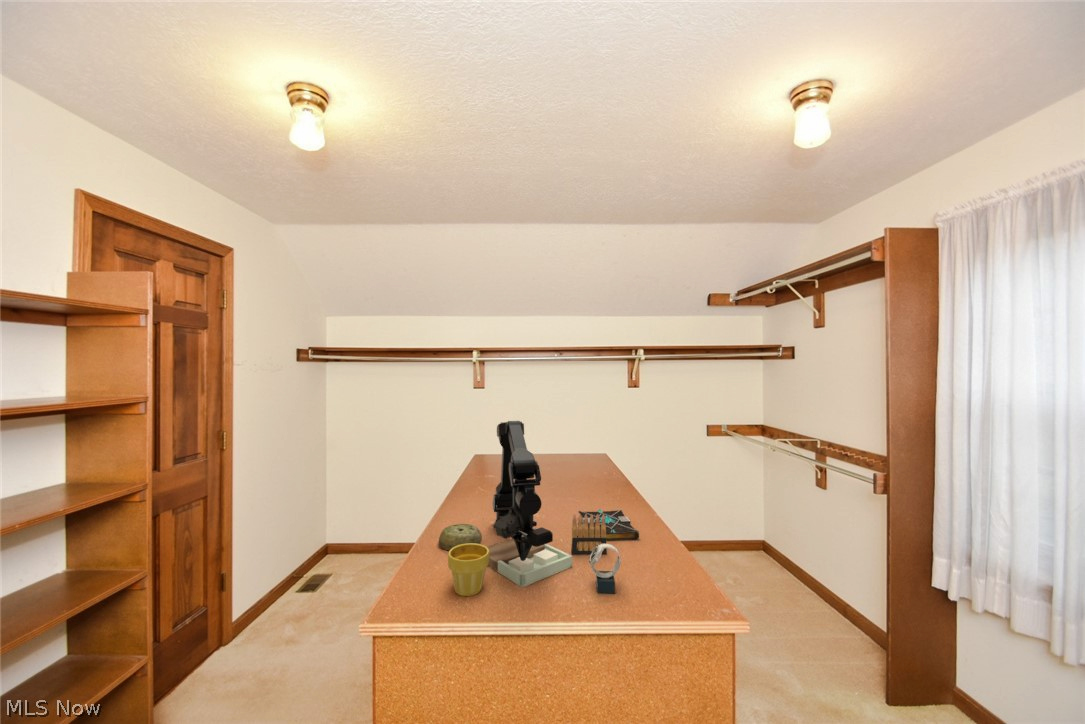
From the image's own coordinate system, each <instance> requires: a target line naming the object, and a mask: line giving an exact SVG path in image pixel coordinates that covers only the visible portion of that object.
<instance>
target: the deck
mask: <svg viewBox="0 0 1085 724" xmlns="http://www.w3.org/2000/svg"><path fill="white" fill-rule="evenodd" d="M544 545H545V544H544ZM544 545H541V546H538V547H535V546H533V545H532V547H531V549H530V551H529V553H528V556H527V558H528V559H529V558H532V557H534V554H535V553H538V552H540V551H542V550H544ZM486 547H487V548H488V549H489V564H488V566H487V567H489V568H491V569H492V570H494V571H495V572H497V573H499V572H498V561H500V560H501V561H503V562H505V563H506V564H508V565H509V561H510V560H513V559H516V558H518V557H520V556H519V553H518V550H517V547H516V544H515V541H514V539H512V538H511V539H506V540H504V541H501V542H498V543H495V544H492V545H491V544H490V545H488V546H486Z"/></svg>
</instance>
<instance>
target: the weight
mask: <svg viewBox="0 0 1085 724" xmlns="http://www.w3.org/2000/svg"><path fill="white" fill-rule="evenodd" d="M482 537H483V535H482V532H481V530H480V529H479V528H478V527H477V526H475V525H474V524H470V523H457V524H452V525H449V526H447V527H444V529H443V530H441V533H440V534H439V538H438V546H439V547H440V548H441V549H442V550H446V551H448V552H449V551H450V550H451V549H452V548H453V547H455V546H458V545H461V544H468V543H476V544H481V542H482Z"/></svg>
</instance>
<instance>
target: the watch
mask: <svg viewBox="0 0 1085 724" xmlns="http://www.w3.org/2000/svg"><path fill="white" fill-rule="evenodd" d="M604 548H607V550H608V549H609V550H612V551H613V552H615V553H616V554H617V558H616V560H615V563H614V565H613V567H612V568H611V570H597V569H596V568H595V565H596V564H597V563H599V561H600V560H601V556H603V555H602V551H603V550H604ZM588 562H589V564H590V568H591V571H592V572H593V574H594V575H595V584H596V593H597V594H599V595H600V594H601V595H602V594H603V595H616V584H615V583H616V582H615V581H616V580H615V577H614V576H615V575H616V574H617V572H618V571H619V569H620V566H621V564H622V561H621V555H620V553H619V550H618V549H617V547H616V546H614V545H612V544H611V543H606V544H605V543H604V544H601V543H600V545H597V546H596V547H595V546H594V549H593V551H592V553H591V555H589V559H588Z"/></svg>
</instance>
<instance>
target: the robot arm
mask: <svg viewBox="0 0 1085 724" xmlns="http://www.w3.org/2000/svg"><path fill="white" fill-rule="evenodd" d="M496 436H497V437H498V441H499V444H500V446H501V447H502V450H501V451H502V452H501V453H502V454H501V469H500V471H501V472H500V482H499V483H498V485H496V487H495V493H494V494H493V496H492V497H493V498H492V511H493V512H494V513H496V516H495V517H496V519H495V522H494V523H493V525H492V527H493V528H495V532H496V535H497V536H499V537H501V538H502V539H504V540H505V539H506V540H508V538H511V539H514V541H515V544H516V547H517V550H518V553H519V556H520V559H521V560H522V561H524V560H526V558H527V556H528V553H529V551H530V549H531V547H532V545H533V546H535V547H538V546H541V545H544V544H549V543H552V542H554V539H553V538H554V537H553V535H554V534H553V532H552V531H551V530H549V529H547V528H545V527H539V528H536V527H537V525H538V523H537V521H536V520H534V515H536V514H538V513H539V511H540V510H541V507H542V499H541V498H540V496H539V495H538V493H537V492H536V489H535V488H536V486H541V480H542V474H541V470H540V469H541V468H540V464H539V463H538V461H537V460H535V455H534V454H533V453H532V452H531V451H529V450H528V448H527V443H526V440H525V423H523V422H522V421H521V420H508V421H505V422H500V423H499V424H497V425H496Z"/></svg>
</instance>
